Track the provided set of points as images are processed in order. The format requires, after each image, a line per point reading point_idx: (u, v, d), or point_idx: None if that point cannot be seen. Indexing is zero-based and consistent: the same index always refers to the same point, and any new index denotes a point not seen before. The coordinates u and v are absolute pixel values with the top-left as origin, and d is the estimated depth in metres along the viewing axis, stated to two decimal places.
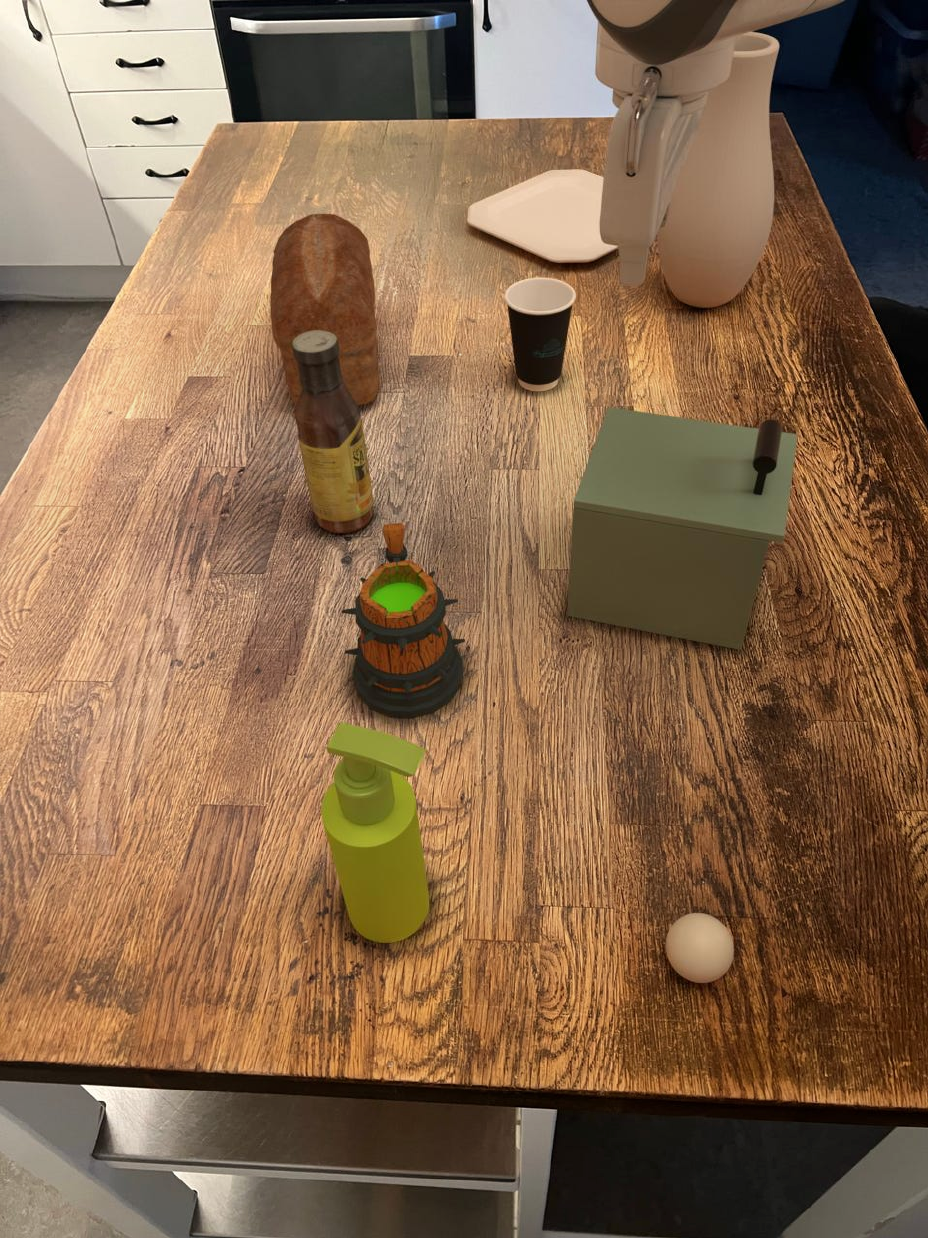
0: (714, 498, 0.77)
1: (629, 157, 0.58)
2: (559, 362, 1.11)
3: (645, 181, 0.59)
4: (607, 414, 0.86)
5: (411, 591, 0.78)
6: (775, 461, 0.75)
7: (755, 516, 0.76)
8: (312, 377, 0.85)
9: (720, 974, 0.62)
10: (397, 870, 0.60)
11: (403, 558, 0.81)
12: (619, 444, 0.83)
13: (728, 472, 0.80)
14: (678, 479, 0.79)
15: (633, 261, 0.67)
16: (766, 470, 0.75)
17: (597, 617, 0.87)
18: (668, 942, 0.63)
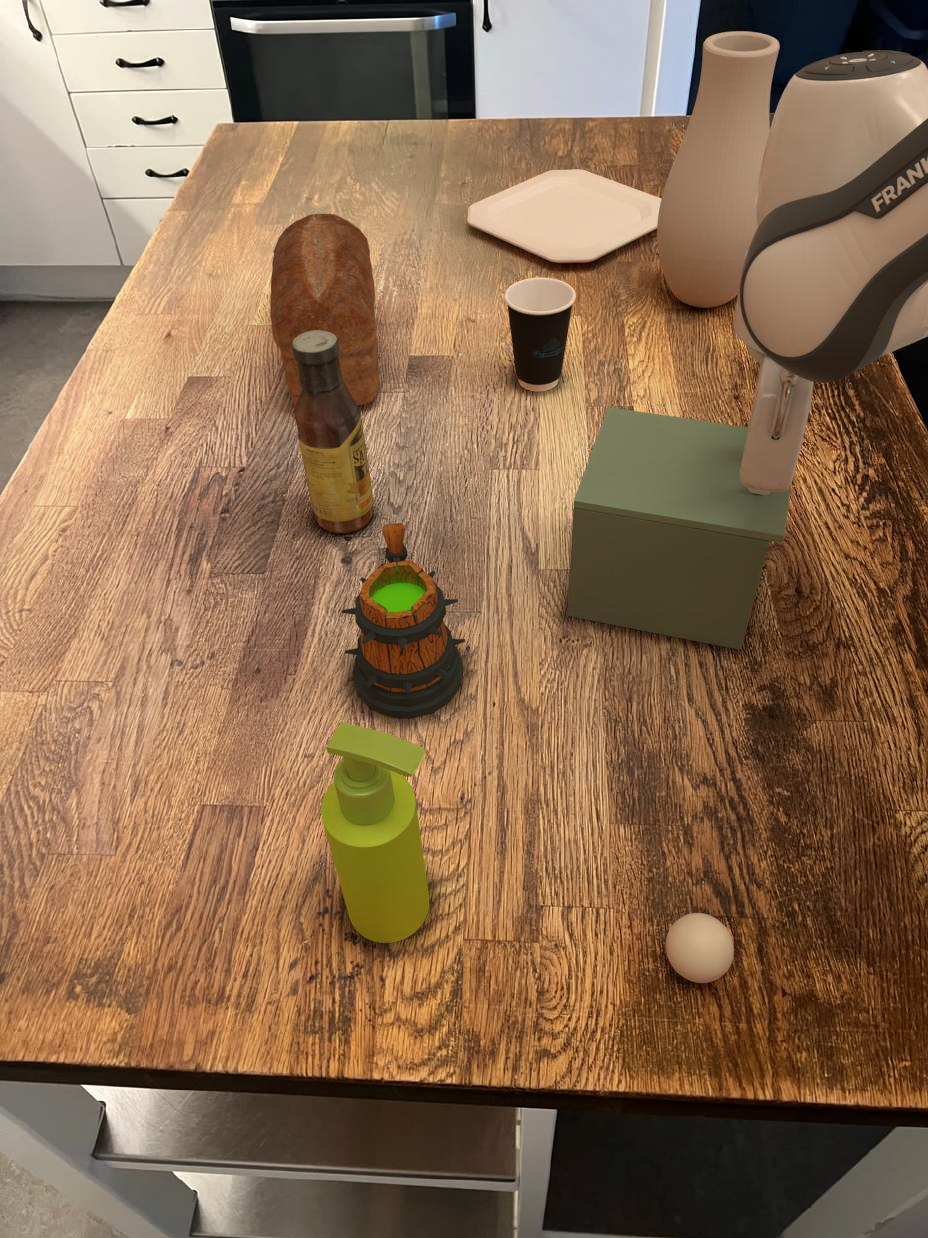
0: (714, 498, 0.77)
1: (777, 428, 0.64)
2: (559, 362, 1.11)
3: (788, 444, 0.65)
4: (607, 414, 0.86)
5: (411, 591, 0.78)
6: None
7: (755, 516, 0.76)
8: (312, 377, 0.85)
9: (720, 974, 0.62)
10: (397, 870, 0.60)
11: (403, 558, 0.81)
12: (619, 444, 0.83)
13: (728, 472, 0.80)
14: (678, 479, 0.79)
15: None
16: None
17: (597, 617, 0.87)
18: (668, 942, 0.63)
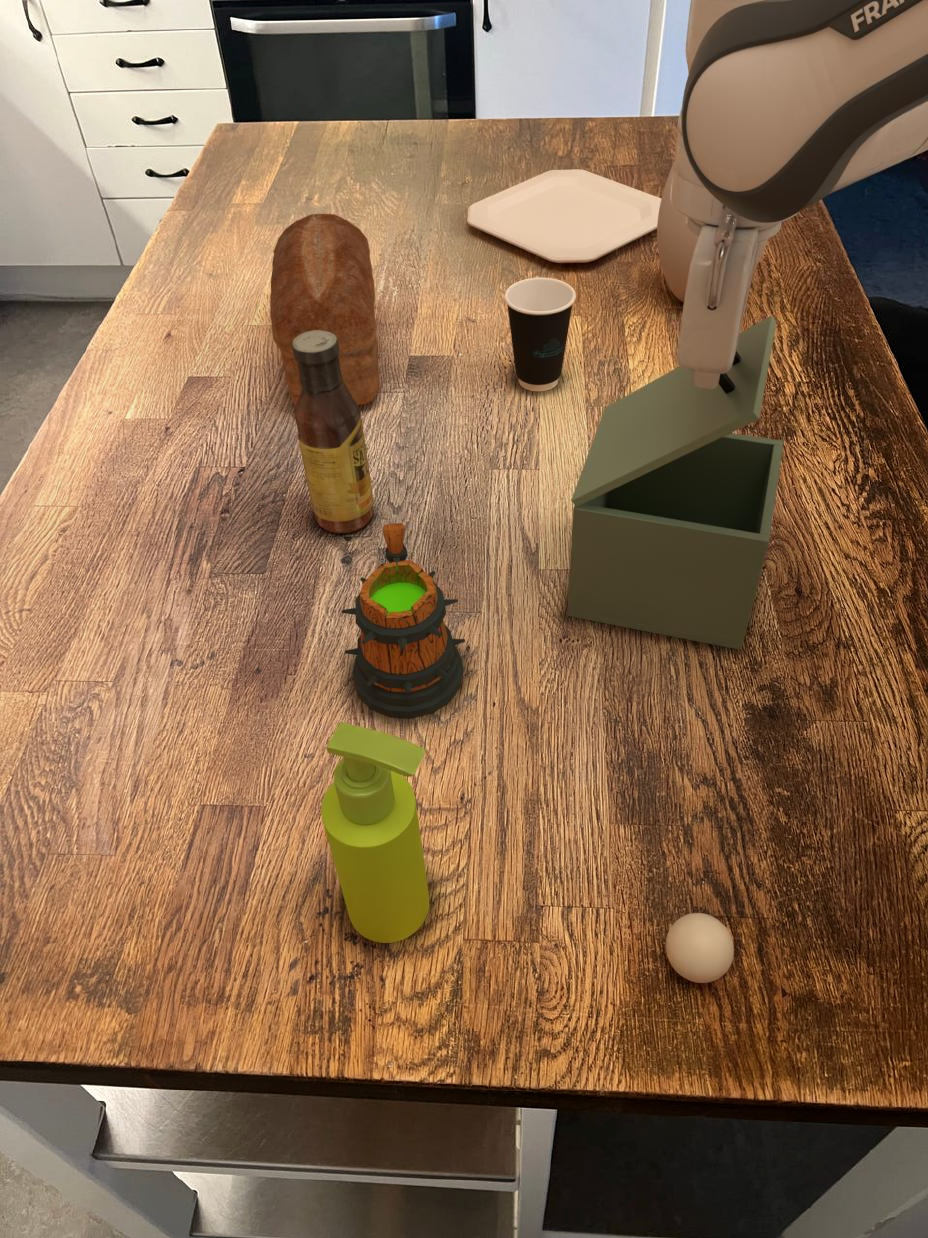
0: (690, 421, 0.73)
1: (712, 294, 0.59)
2: (559, 362, 1.11)
3: (726, 314, 0.60)
4: (604, 413, 0.86)
5: (411, 591, 0.78)
6: None
7: (727, 412, 0.70)
8: (312, 377, 0.85)
9: (720, 974, 0.62)
10: (397, 870, 0.60)
11: (403, 558, 0.81)
12: (611, 430, 0.82)
13: (704, 391, 0.75)
14: (660, 425, 0.76)
15: None
16: None
17: (597, 617, 0.87)
18: (668, 942, 0.63)
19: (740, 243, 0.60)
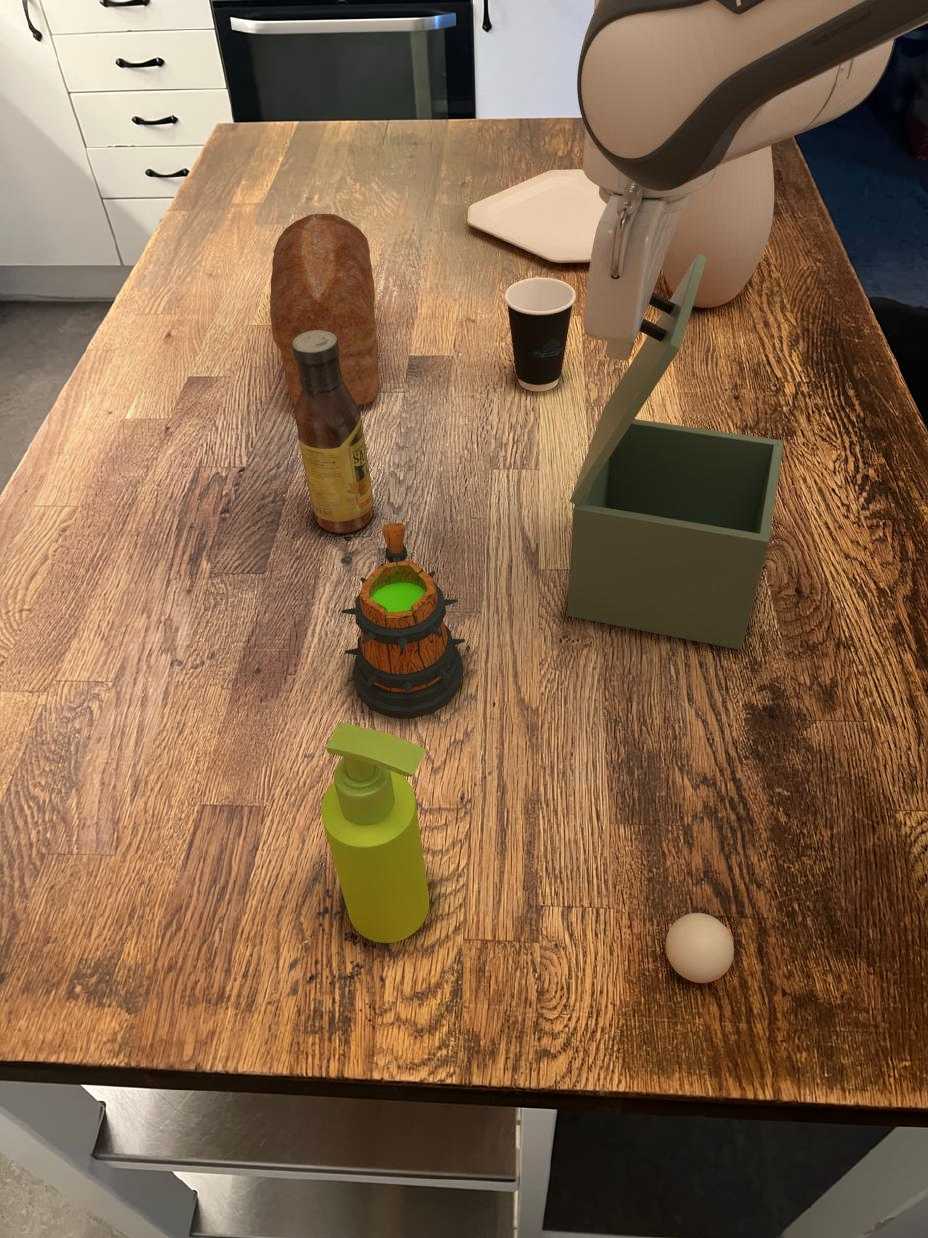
0: (638, 381, 0.72)
1: (614, 262, 0.59)
2: (559, 362, 1.11)
3: (629, 284, 0.60)
4: None
5: (411, 591, 0.78)
6: None
7: (657, 356, 0.68)
8: (312, 377, 0.85)
9: (720, 974, 0.62)
10: (397, 870, 0.60)
11: (403, 558, 0.81)
12: (601, 425, 0.82)
13: (651, 349, 0.74)
14: (624, 399, 0.75)
15: None
16: None
17: (597, 617, 0.87)
18: (668, 942, 0.63)
19: (645, 213, 0.60)
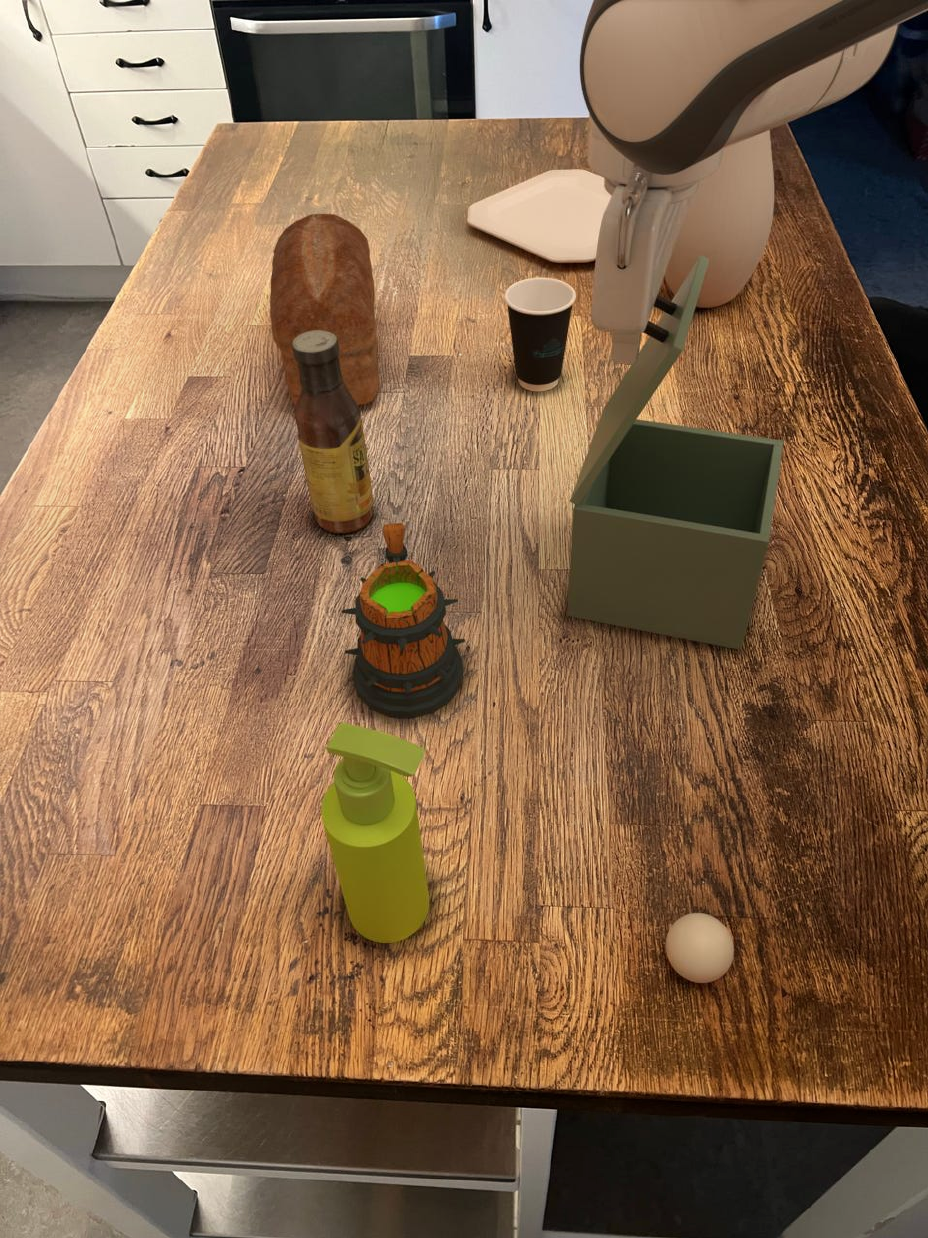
0: (640, 382, 0.72)
1: (620, 252, 0.58)
2: (559, 362, 1.11)
3: (636, 274, 0.60)
4: None
5: (411, 591, 0.78)
6: None
7: (659, 357, 0.68)
8: (312, 377, 0.85)
9: (720, 974, 0.62)
10: (397, 870, 0.60)
11: (403, 558, 0.81)
12: (602, 425, 0.82)
13: (653, 350, 0.74)
14: (625, 399, 0.75)
15: (625, 342, 0.68)
16: None
17: (597, 617, 0.87)
18: (668, 942, 0.63)
19: (651, 202, 0.60)
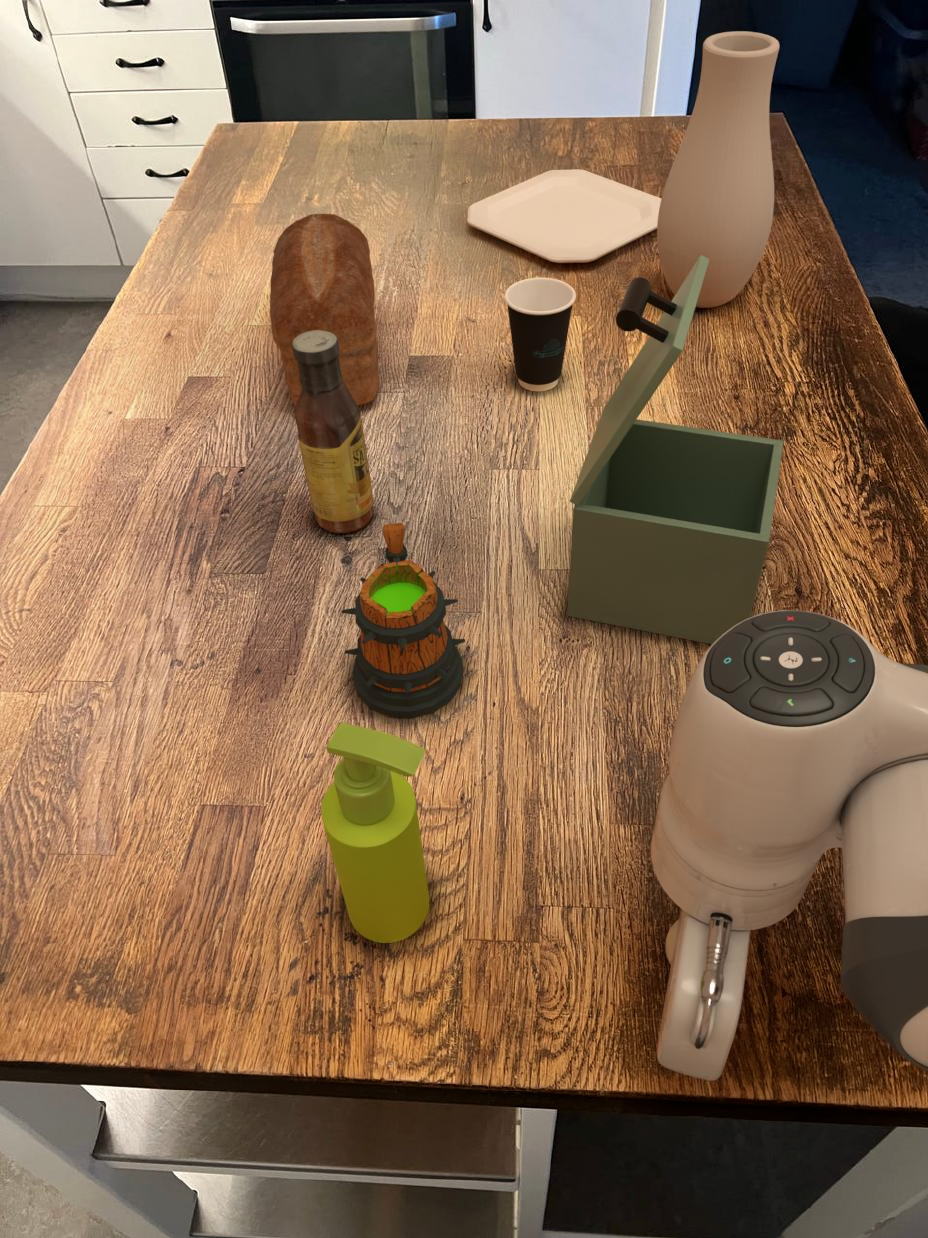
0: (640, 382, 0.72)
1: (697, 1046, 0.50)
2: (559, 362, 1.11)
3: (714, 1051, 0.51)
4: None
5: (411, 591, 0.78)
6: (627, 309, 0.69)
7: (659, 357, 0.68)
8: (312, 377, 0.85)
9: None
10: (397, 870, 0.60)
11: (403, 558, 0.81)
12: (602, 425, 0.82)
13: (653, 350, 0.74)
14: (625, 399, 0.75)
15: None
16: (635, 321, 0.70)
17: (597, 617, 0.87)
18: (668, 943, 0.63)
19: (731, 965, 0.51)
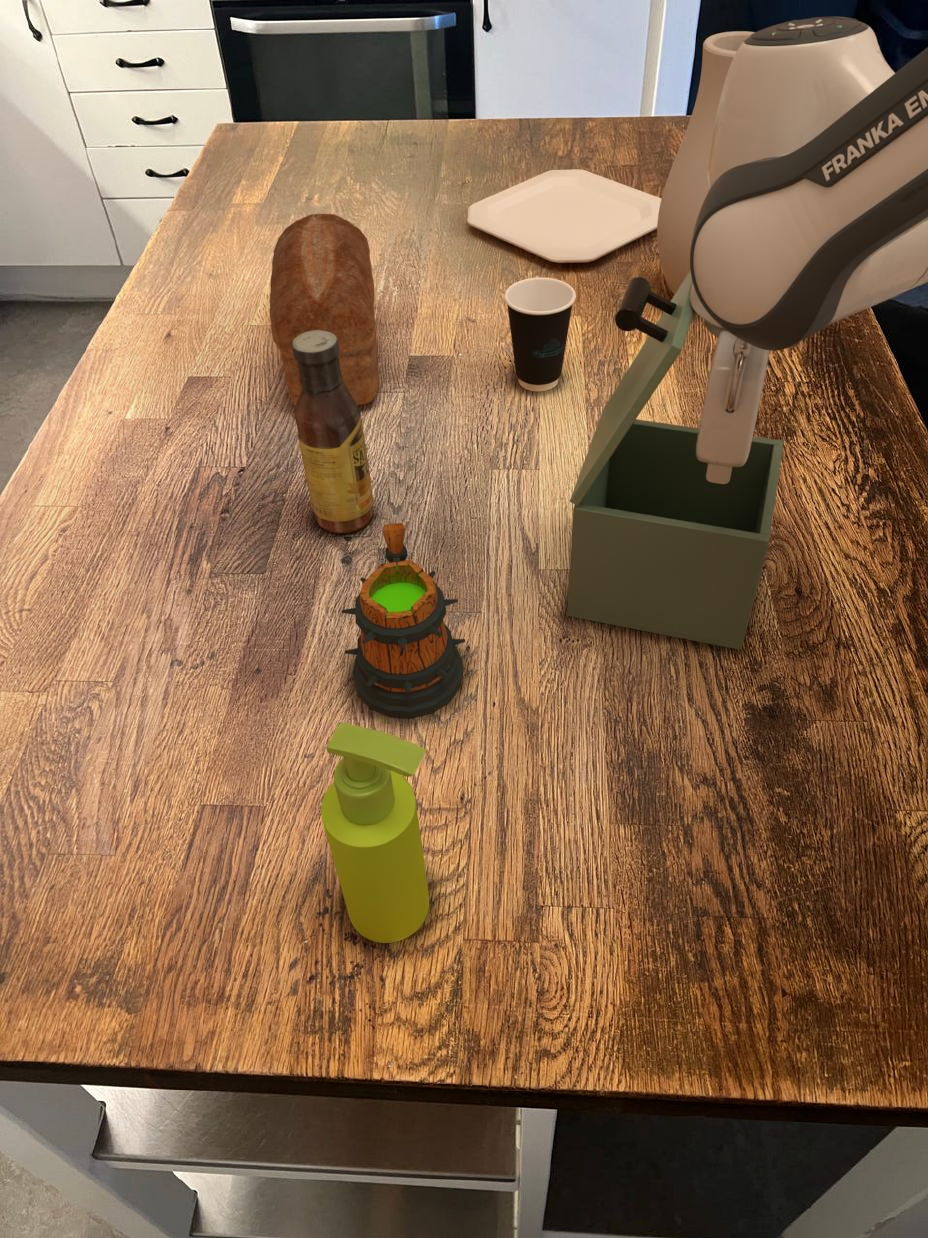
0: (640, 382, 0.72)
1: (730, 400, 0.63)
2: (559, 362, 1.11)
3: (743, 417, 0.64)
4: None
5: (411, 591, 0.78)
6: (626, 308, 0.69)
7: (659, 357, 0.68)
8: (312, 377, 0.85)
9: None
10: (397, 870, 0.60)
11: (403, 558, 0.81)
12: (601, 425, 0.82)
13: (652, 349, 0.74)
14: (624, 399, 0.75)
15: (720, 465, 0.73)
16: (634, 321, 0.70)
17: (597, 617, 0.87)
18: None
19: (756, 351, 0.65)
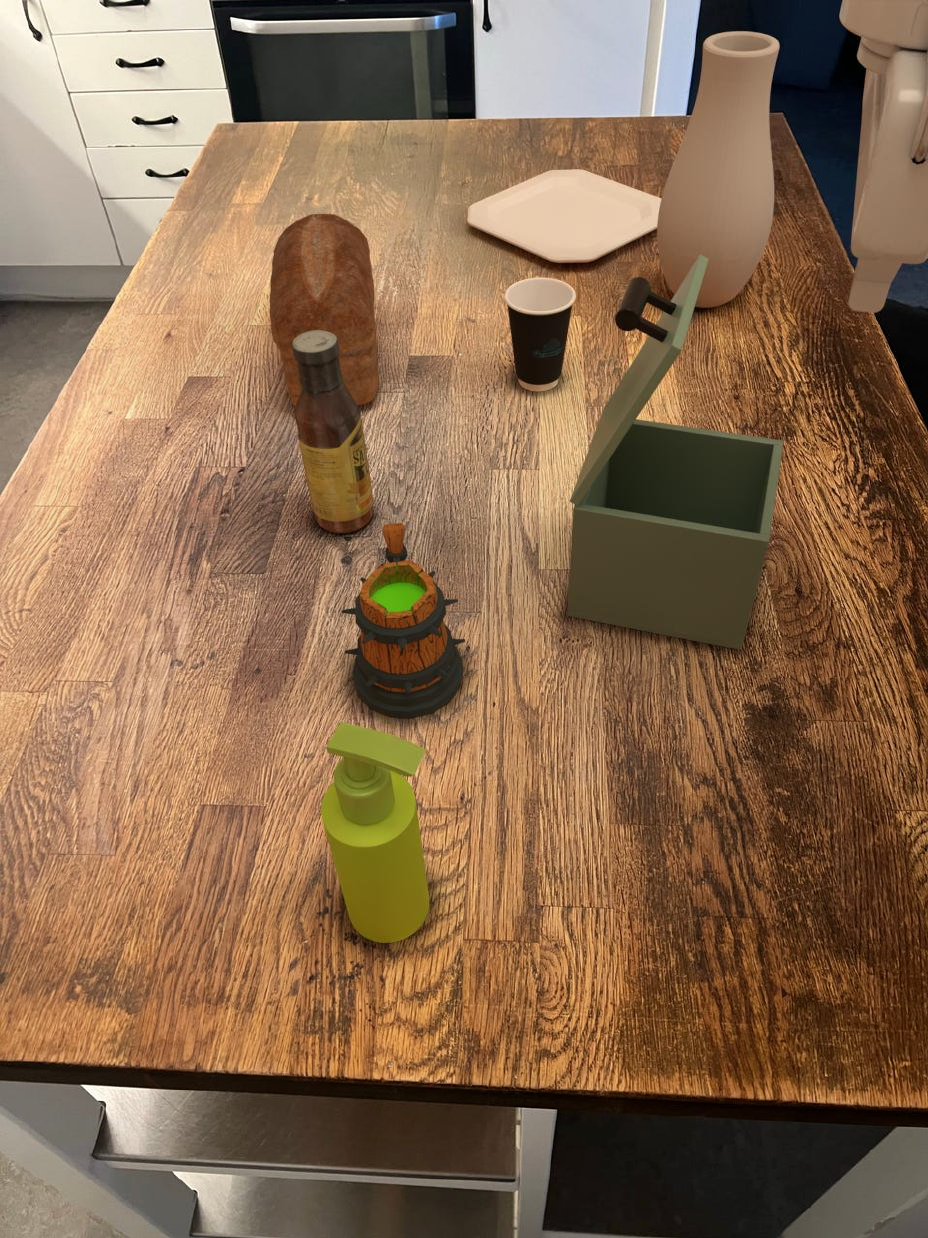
0: (640, 382, 0.72)
1: (925, 136, 0.40)
2: (559, 362, 1.11)
3: None
4: None
5: (411, 591, 0.78)
6: (626, 308, 0.69)
7: (659, 357, 0.68)
8: (312, 377, 0.85)
9: None
10: (397, 870, 0.60)
11: (403, 558, 0.81)
12: (601, 425, 0.82)
13: (652, 349, 0.74)
14: (624, 399, 0.75)
15: (873, 280, 0.50)
16: (634, 321, 0.70)
17: (597, 617, 0.87)
18: None
19: None
